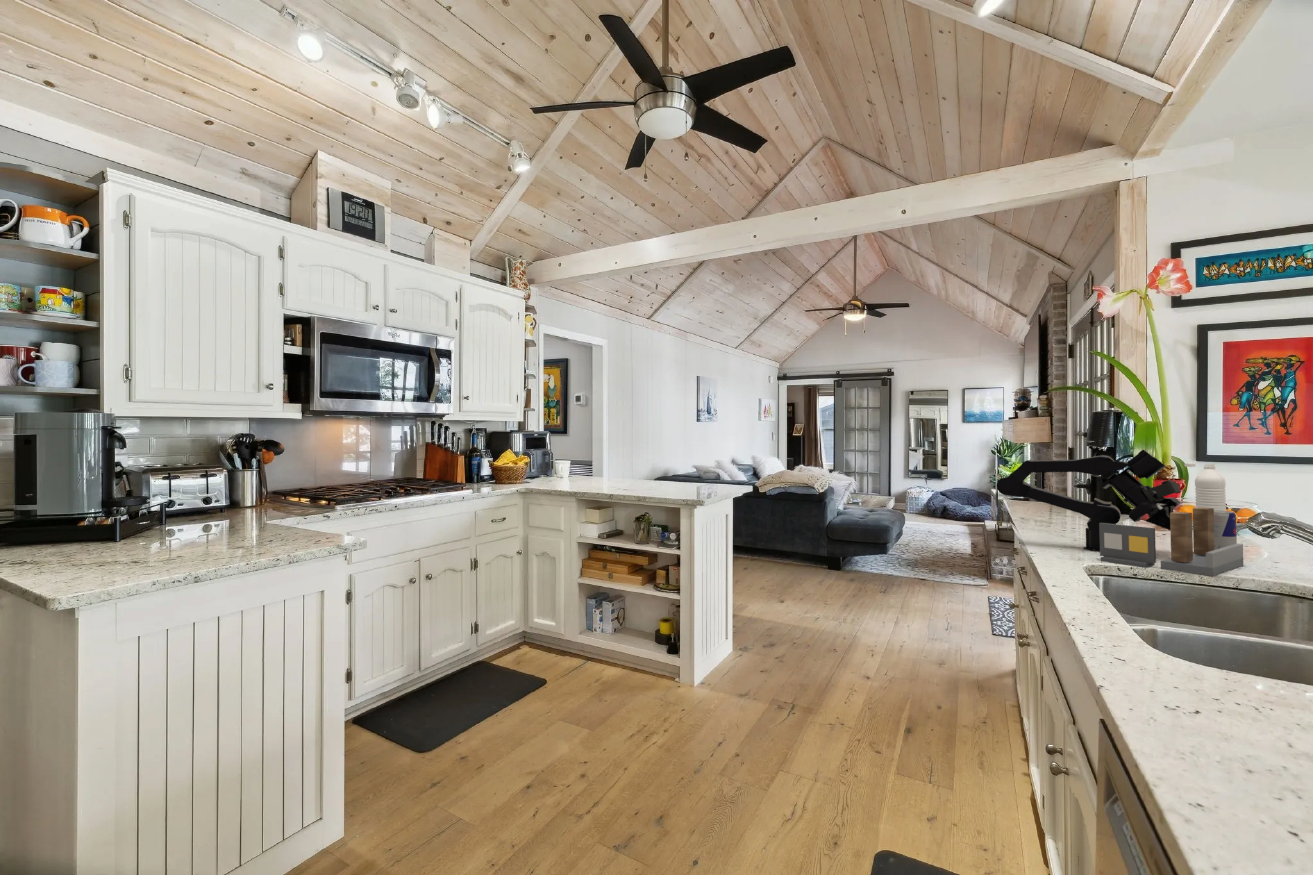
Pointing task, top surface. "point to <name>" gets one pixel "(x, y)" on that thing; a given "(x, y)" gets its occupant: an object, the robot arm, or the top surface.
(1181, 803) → the top surface
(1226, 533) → the energy drink
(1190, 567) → the grey stepped base
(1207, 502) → the water bottle
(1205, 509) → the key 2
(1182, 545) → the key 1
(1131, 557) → the card
